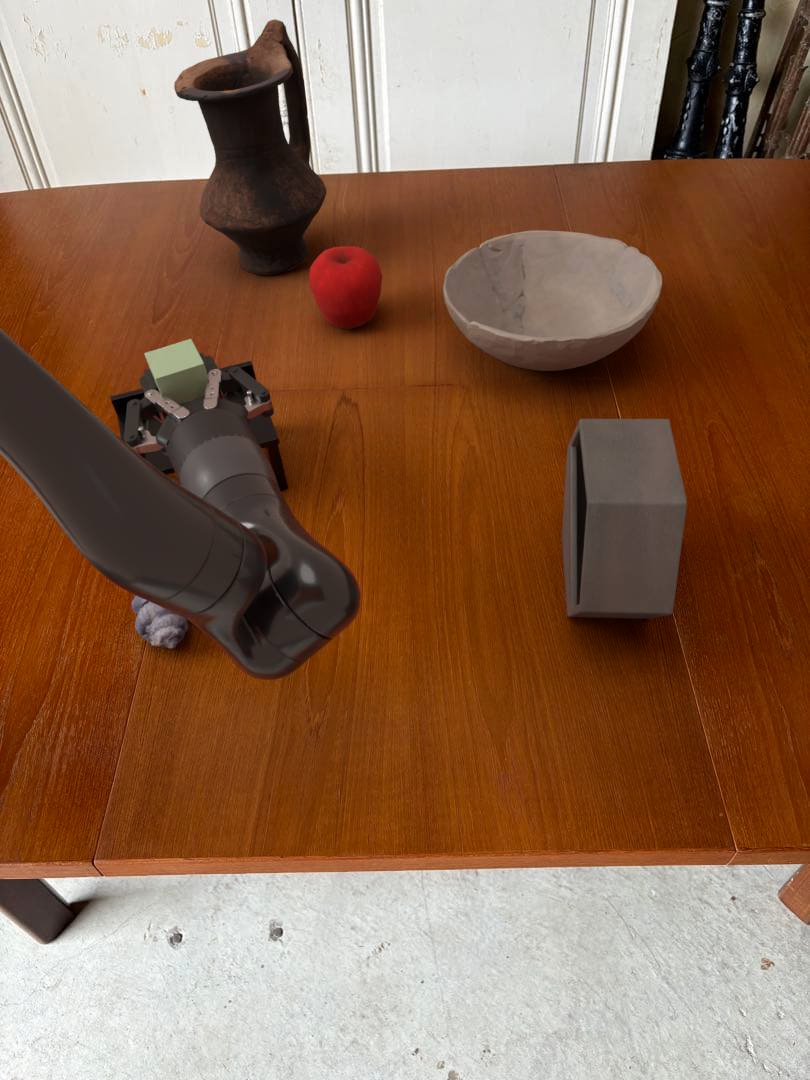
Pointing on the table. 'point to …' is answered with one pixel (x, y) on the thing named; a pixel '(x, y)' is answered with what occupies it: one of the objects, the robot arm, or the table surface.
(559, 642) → the table surface
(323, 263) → the apple
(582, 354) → the bowl
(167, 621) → the seashell
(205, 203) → the jug
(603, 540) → the grey open box
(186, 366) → the block
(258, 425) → the bench
